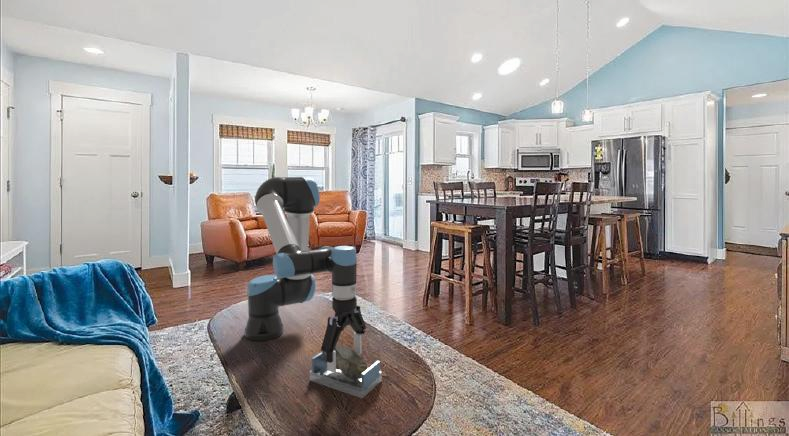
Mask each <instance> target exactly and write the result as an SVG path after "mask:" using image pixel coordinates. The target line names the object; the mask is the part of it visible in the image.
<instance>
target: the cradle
mask: <svg viewBox="0 0 789 436" xmlns="http://www.w3.org/2000/svg"><path fill="white" fill-rule="evenodd" d="M367 368H368V369H367V370H365V371H364V372H363V373H362V378H361V379H355V380H352V379H349V378H348V377H346V376H345V375H344V374H343V373H342V372H341V370H338V369H336V372H335V373H334V372H331V371H328V370H327V362H326V360H325V359H324V358H323V355H322V351H321V352H319V353H317V354H316V355H315V356H313V357H311V370H310V371H309V381H311V382H313V383H316V384H319V385H321V386H325V387H327V388H330V389H333V390H336V391H338V392H339V391H340V392H341V393H345V394H348V395H350V396H353V397H357V398H360V399H364V397H366V395H368V394H369V393H370V392H372V390H373V389H374V388H376V387H377V386H378V385H379V384H380V383H381V382H382V380H383V379H382V377H383V376H382V371H381V361H380V360H376V361H375V362H374V363H373V364H372V365H371V366H369V367H367Z"/></svg>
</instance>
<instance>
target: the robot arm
mask: <svg viewBox="0 0 789 436" xmlns="http://www.w3.org/2000/svg"><path fill="white" fill-rule="evenodd" d="M320 196H321V195H320V191H319V187H318V184H317V181H316V180H315V179H314V178H312V177H307V176H287V177H286V176H285V177H283V176H282V177H280V176H275V177H271V178H268V179H266V180H265V181H264V182H263V183H261V185H260V186H259V187H258V189H257V190H256V192H255V196H254V197H255V198H254V203H255V207H256V210H257V211H258V212H259V214H261V215H262V218H263V220H264V223H265V227H266V228H267V232H268V234H269V237H270V240H271V242H272V245H273V247H274V251H275V252H276V253H275V254H274V255H273V257H272V268H273V273H274V274H266V275H265V274H264V275H260V276H258V277H255V278H253V279H251V280H250V281H249V282H248V284H247V292H246V294H247V306H248V307H247V308H248V317H247V322H246V326H245V329H244V337H245V339H246V340H249V341H253V342H254V341H256V342H261V341H268V340H273V339H276V338H278V337H280V336H281V335H283V334H284V324H283V321H282V319H281V317H280V314H279V307H284V306H291V305H297V304H303V303H306V302H309V301H311V300H312V299H313V298H314V296H315V293H316V278H315V276H314V275H315V274H321V273H331V296H332V301H331V302H332V303H331V304H332V306H331V307H332V310H333V311H334V316H333V317H330V316H329V317H328V318H327V323H326V324H327V325H326V328H325V329H326V330H325V333H324V337H323V340H322V344H321V347H320V351H321V352H322V351H323V352H326V358H327V359H326V361H327V370H328V371H331V372H334V373H335V372H336V351H334V349H335V346H336V344H337V345H338V342H339V339H340V336H341V333H342V332H343V331H344V330H345V328H346V327H347V326H350V327H351V328H352V330H353V331H354V333H353V335H352V336H353V350H354V351H355V353H356V354H358V355H361V354H362V351H363V349H362V348H363V346H362V343H363V342H362V341H363V335H365V333H366V331H365V330H366V329H367V326H366V322H365V319H364V317H363V315H362V312H361V306H360V305H357V304H358V303H357V302H358V300H357V299H358V297H357V269H358V268H357V267H358V265H357V262H358V257H357V250H356V248H355V247H354V246H351V245H350V246H349V245H338V246H334V247H333V246H327V245H325V246H322V247H320V248H318V249H309V238H310V217H311V214H313V213H314V211H315V210H314V209H315V208H314V207H317V206H318V205H320Z"/></svg>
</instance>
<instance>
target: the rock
mask: <svg viewBox="0 0 789 436" xmlns="http://www.w3.org/2000/svg"><path fill="white" fill-rule="evenodd" d="M334 351H336V369H338V370H341V372H342V373H343V374H344V375H345V376H346V377H348V378H349V379H352V380H355V379H361V378H362V373H363V372H364V371H365V370H367V369H368V368H369V367H368V366H367V362H366V360H364V358H363V357H361V356H360V354H358V353H355V351H354V348H352V347H350V346H346V345H339V344H338V343H337V344H336V346H335V349H334ZM321 352H322V355H323V358H324V359H325V360H326V359H327V358H326V352H323V351H321ZM326 362H327V361H326Z"/></svg>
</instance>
